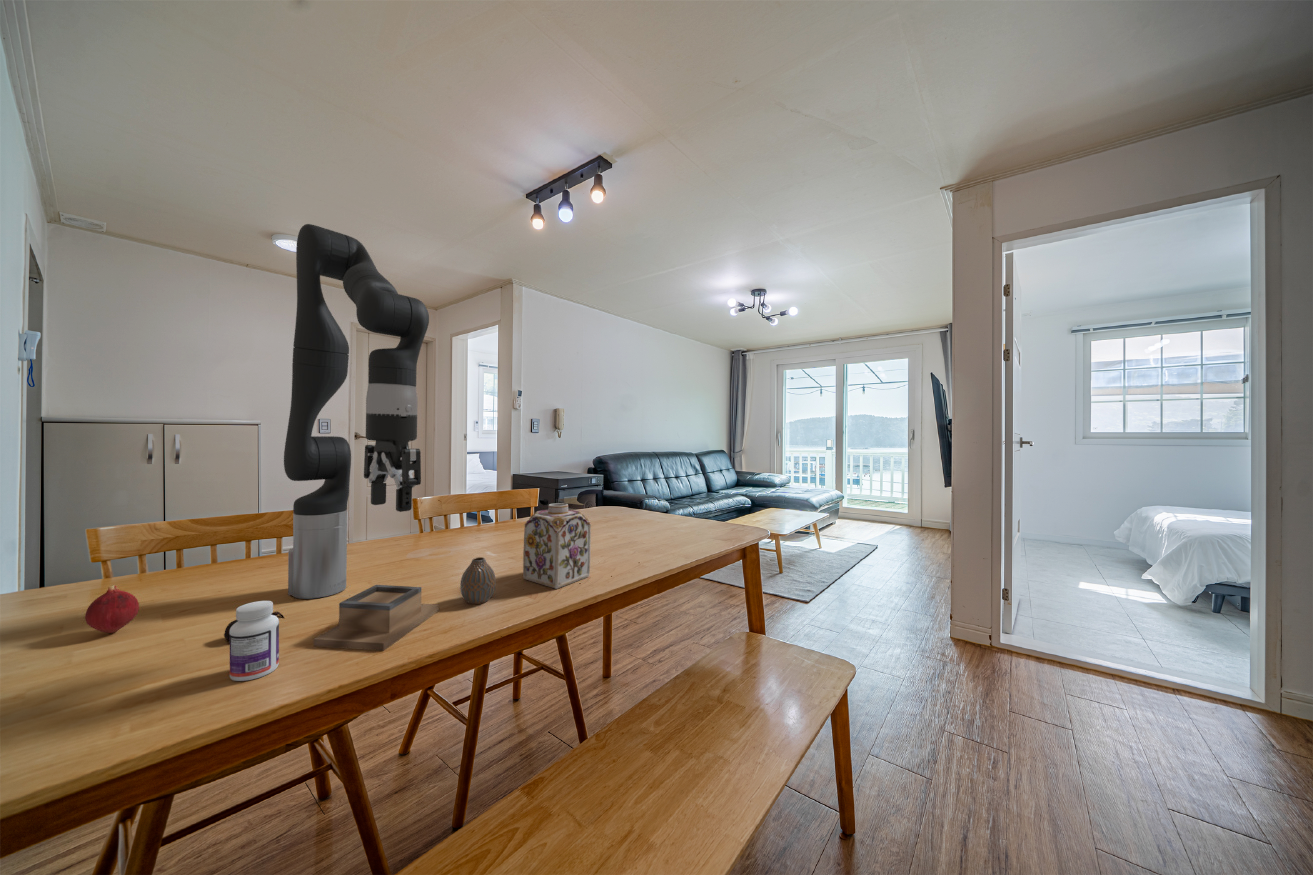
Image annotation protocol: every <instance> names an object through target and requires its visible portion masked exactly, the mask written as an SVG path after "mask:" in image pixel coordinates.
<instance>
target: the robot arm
mask: <svg viewBox="0 0 1313 875" xmlns="http://www.w3.org/2000/svg"><path fill="white" fill-rule="evenodd" d="M295 249H296V250H295V251H296V252H295V255H296V256H295V257H296V258H295V259H296V261H295V262H296V293H297V294H296V314H295V328H294V334H293V335H294V338H293V348H292V365H291V367H292V368H291V370H292V374H291V376H292V377H291V397H290V400H291V401H290V407H289V408H290V409H289V416H288V417H289V418H288V424H287V430H286V438H285V442H284V451H283V468H284V469H283V470H284V473H285V475H286V477H287V478H288V479H289V480H290V481H294V482H305V481H306V482H308V481H320V480H324V482H323V483H322V485H321V486H320V487H319V488H317V489H316V490H314V491H313V492H309V493H308V494H305V495H303V496H301V497H298V498H297V499H295V500H294V502H293V508H292V509H293V510H292V512H293V514H292V517H293V519H292V521H293V522H292V523H293V525H292V529H293V530H292V532H293V533H292V534H293V536H292V538H293V539H292V541H293V542H292V547H291V548H290V549H289V550H288V552H287V553H288V554H287V555H288V556H287V558H288V563H287V570H288V572H287V574H288V575H287V578H288V580H287V595H288V596H293V598H295V599H304V600H306V599H307V600H309V599H318V598H323V597H329V596H332V595H336V594H338V593H341V592H342V591H344V590H345V589H346V588H347V569H348V567H347V564H348V562H347V558H348V556H347V555H348V554H347V553H348V550H347V549H348V548H347V547H348V501H349V496H350V481H351V468H352V467H351V466H352V450H351V445H350V444H349V441H348V440H347V439H346V437H342V436H336V435H335V436H334V435H333V436H332V435H331V436H327V435H324V436H323V435H321V436H315V435H314V436H313V435H312V434H313V430H314V426H315V423H316V419H317V418H318V416H319V413H321V411H322V409H323V408H324V407H325V405H326V404H327V403H328V402H329V401H330V400H331V399H332V397H334V395H335V394H336V393H337V392H338V390H339V389H340V388H341V387H342V386H343V384H344V383H345V381H346V379H347V378H348V377H347V376H348V374H349V370H348V369H349V361H350V360H349V357H350V355H349V354H350V346H349V343H348V340H347V338H346V335H345V333H344V331H343V330H342V329H341V327H340V325H339V323H338V322H337V320H336V318H335V317H334V316H333V314H332V313H331V310H330V308H329V306H328V305H327V302H326V300H325V297H324V293H323V290H322V283H321V276H322V277H325V278H328V279H329V278H330V279H332V280H337V281H342V287H343V290H344V292H345V294H346V295H347V297H348V298H349V299H350V301H351V302H352V303H353V304H355V307H356V319H357V322H358V324H359V325H360V326H361V327H362V328H363V329H365V330H366V331H369V332H371V333H374V334H379V335H380V334H381V335H387V336H391V337H397V338H399V341H398V342H399V343H398V345H397V346H396V347H389V348H387V347H385V348H377V349H374V350H371V352H369V355H368V371H367V372H368V375H367V376H368V378H367V379H368V381H367V382H368V384H367V391H366V396H365V397H366V398H365V439H366V440H368V441H373V442H375V444H366V445H365V446H364V460H363V461H364V462H363V464H364V465H363V477H364V479H365V480H366V479H367V480H368V483H369V484H370V504H371V505H373V506H378V505H379V506H380V505H384V504H386V502H387V480H388V477H390V478H391V479H393V480H394V484H395V486H396V489H395V491H396V492H395V511H396V512H399V513H401V512H409V511H411V510H412V506H413V505H412V504H413V503H412V502H413V500H412V499H413V498H412V497H413V488H415V486H420V485H421V484H422V471H421V470H422V468H421V467H422V464H421V463H422V461H421V457H422V456H421V449H420V448H410V446H409V445H410V444H409V442H410V441H411V442H412V441H416V440H417V438H418V406H419V405H418V395H417V394H418V393H417V371H418V369H417V365H418V362H419V361H418V359H419V357H420V354H421V348H422V345H423V342H424V339H425V337H426V334H427V331H428V328H429V325H430V324H429V323H430V315H429V311H428V308H427V307H426V304H425V303H424V302H423V301H421V300H420V299H418V298H417V297H412V296H408V295H403V294H400V293H398V291H397V289H396V287H395V286H394V285H393V284H392V283H391V282H390V281H389V280H388V279H387V278H385V277H384V276H383V275H382V274H381V273H380V272H379V270H378V269H377V267H376V265H375V263H374V261H373V259H372V256H371V255H370V254H369V252H368V250H367V249H366V247H365V245H363V243H362V242H361V241H360V240H358V239H356V238H354V237H353V236H350V235H349V234H344V233H341V232H339V231H334V230H331V229H329V228H325V227H322V226H318V225H316V224H311V223H306V224H304V225H302V226H301V228H300V229H299V231H298V234H297V240H296V248H295Z"/></svg>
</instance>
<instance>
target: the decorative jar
mask: <svg viewBox="0 0 1313 875" xmlns="http://www.w3.org/2000/svg"><path fill="white" fill-rule="evenodd" d="M547 508H548V509H542V510H538V511H535V512H534V514H532V515H531V516H530V517H529V518H528V520H527V521H526V522H525V523H524V524H523V525H524V531H523V552H522V554H523V557H522V558H523V560H522V573H523V574H522V578H523V579H524V580H526V581H529V582H533V583H537V584H539V585H542V586H546V587H548V588H552V589H555V590H558V589H560V588H563V587H566V586H568V585H570V584H573V583H577V582H579V581H582V580H584V579H586V578H588V577H589V576H590V574H591V538H592V537H591V536H592V535H591V534H592V531H591V525H592V523H591V522H590V521H589V519H588V518H587V516H586V515H584V513H583V512H582V511H580V510H575V509H569V504H568V503H564V502H559V503H558V502H556V503H550V504H548V506H547Z"/></svg>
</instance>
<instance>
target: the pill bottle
mask: <svg viewBox="0 0 1313 875" xmlns="http://www.w3.org/2000/svg"><path fill="white" fill-rule="evenodd" d="M235 610H236V611H235V618H236V619H235V620H238V622H236V623H235V624H233V625H232V627H231V628H230V633H229V640H230V642H229V678H230V680H232V681H234V682H245V681H246V682H247V681H250V680H255V679H259V678H262V677H265V676H267V675H269V674H270V673H272V672H274V671H275V670H276V669H277V668H278V666H279V664H280V618H279V619H278V617H277V616H274V615H271V614H272V613H273V611H274V603H273V601H271V600H259V601H258V600H257V601H253V602H248V603H246V604H243V605H240V606H238V607H237V608H236V609H235Z"/></svg>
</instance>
